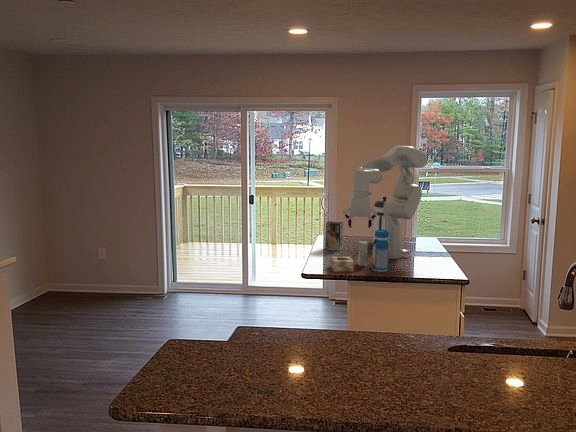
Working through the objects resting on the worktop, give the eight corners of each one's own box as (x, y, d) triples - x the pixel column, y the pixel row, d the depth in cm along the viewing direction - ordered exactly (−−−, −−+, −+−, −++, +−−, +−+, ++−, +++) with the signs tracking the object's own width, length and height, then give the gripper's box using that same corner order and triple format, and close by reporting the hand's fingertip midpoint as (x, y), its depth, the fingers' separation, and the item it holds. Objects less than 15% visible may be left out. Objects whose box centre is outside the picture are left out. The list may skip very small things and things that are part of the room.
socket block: (349, 266, 260) (350, 256, 260) (353, 271, 251) (353, 261, 250) (330, 266, 260) (330, 256, 259) (333, 271, 250) (333, 261, 249)
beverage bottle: (380, 273, 248) (382, 233, 245) (367, 269, 255) (369, 230, 252) (392, 270, 253) (394, 231, 250) (379, 266, 260) (381, 228, 257)
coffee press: (398, 244, 314) (401, 196, 309) (389, 248, 301) (391, 198, 296) (372, 240, 323) (375, 194, 318) (362, 245, 310) (364, 196, 305)
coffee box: (342, 248, 299) (343, 222, 296) (339, 251, 293) (340, 223, 290) (328, 247, 302) (328, 220, 300) (324, 249, 296) (325, 222, 294)
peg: (365, 263, 266) (366, 241, 264) (366, 265, 262) (367, 243, 260) (357, 263, 266) (358, 241, 264) (359, 265, 262) (360, 243, 260)
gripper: (377, 193, 259) (375, 226, 262) (343, 193, 260) (342, 225, 263) (379, 195, 251) (377, 229, 254) (344, 194, 252) (343, 228, 255)
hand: (359, 227), depth 258 cm, fingers open, 9 cm apart
